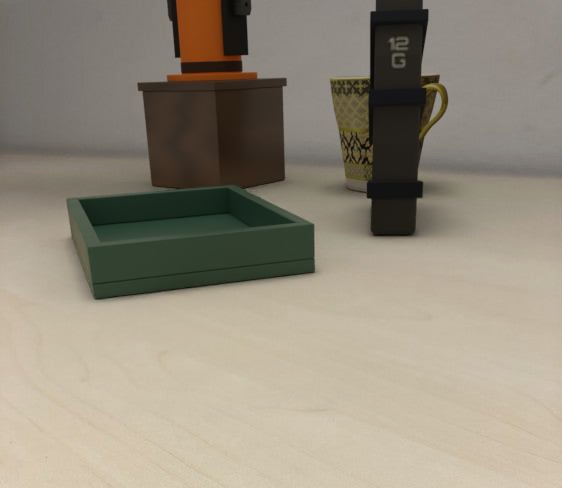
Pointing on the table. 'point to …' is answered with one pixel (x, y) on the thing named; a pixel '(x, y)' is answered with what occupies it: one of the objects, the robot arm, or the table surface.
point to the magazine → (396, 113)
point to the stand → (215, 132)
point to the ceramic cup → (355, 122)
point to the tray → (185, 239)
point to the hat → (204, 44)
